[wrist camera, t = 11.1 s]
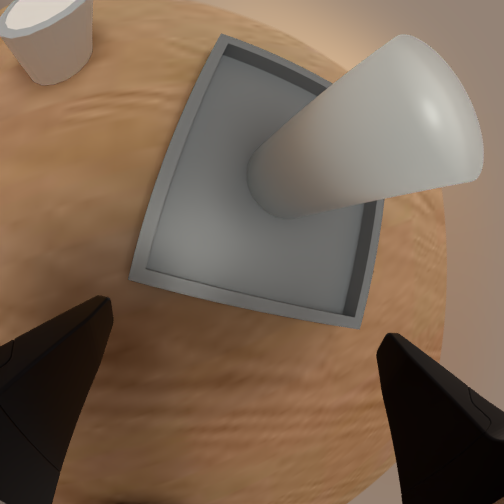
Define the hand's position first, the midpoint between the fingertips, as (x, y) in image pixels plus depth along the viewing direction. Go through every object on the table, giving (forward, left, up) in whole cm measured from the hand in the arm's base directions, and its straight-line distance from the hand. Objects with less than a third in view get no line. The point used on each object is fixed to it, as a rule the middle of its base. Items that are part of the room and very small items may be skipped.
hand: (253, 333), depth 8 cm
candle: (+9, -4, -9) cm, 13 cm away
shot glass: (+14, +16, -11) cm, 24 cm away
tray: (+9, -4, -10) cm, 14 cm away
